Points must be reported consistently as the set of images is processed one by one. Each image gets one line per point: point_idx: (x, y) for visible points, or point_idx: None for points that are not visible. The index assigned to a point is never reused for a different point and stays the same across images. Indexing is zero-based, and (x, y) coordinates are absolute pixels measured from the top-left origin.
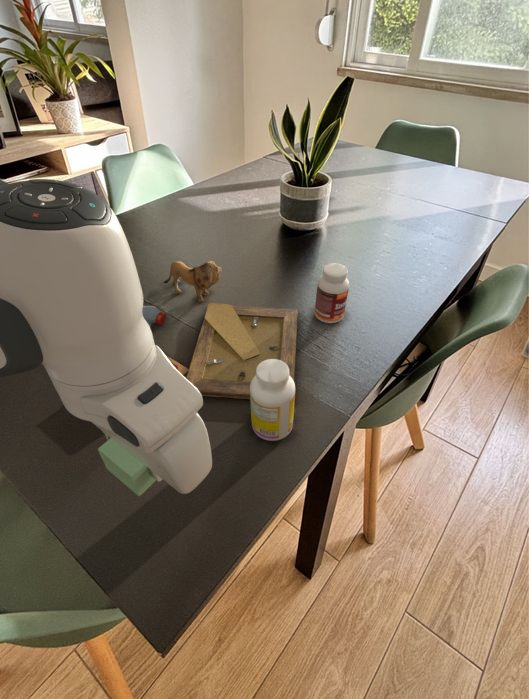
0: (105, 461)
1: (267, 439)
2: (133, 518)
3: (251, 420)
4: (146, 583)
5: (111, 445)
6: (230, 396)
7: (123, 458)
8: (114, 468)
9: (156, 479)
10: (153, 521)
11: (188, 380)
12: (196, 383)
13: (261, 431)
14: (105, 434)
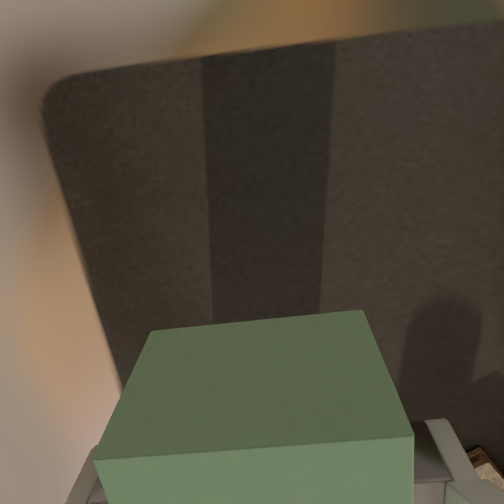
0: (352, 367)
1: None
2: (314, 193)
3: None
4: (163, 130)
5: (365, 489)
6: None
7: (232, 489)
8: (275, 380)
9: (88, 461)
10: (272, 221)
11: (497, 483)
12: None
13: None
14: (471, 482)
